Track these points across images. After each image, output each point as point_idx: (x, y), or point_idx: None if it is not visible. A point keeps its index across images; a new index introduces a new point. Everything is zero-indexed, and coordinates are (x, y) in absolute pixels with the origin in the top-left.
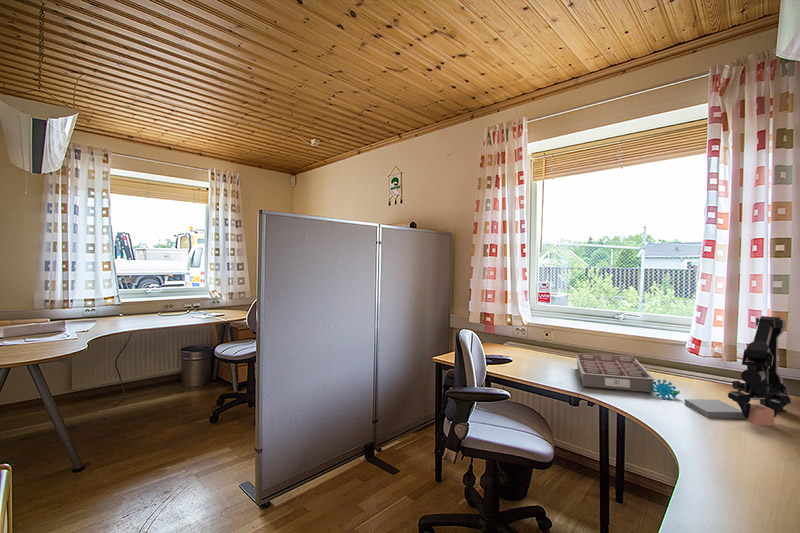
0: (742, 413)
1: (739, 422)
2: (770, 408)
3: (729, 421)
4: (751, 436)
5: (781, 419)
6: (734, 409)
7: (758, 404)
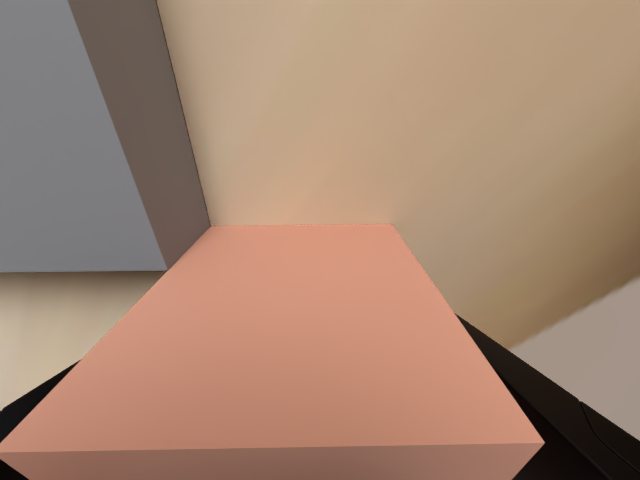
0: (146, 259)
1: (111, 316)
2: (548, 449)
3: (24, 302)
4: None
5: (607, 227)
6: (21, 141)
7: (448, 456)
